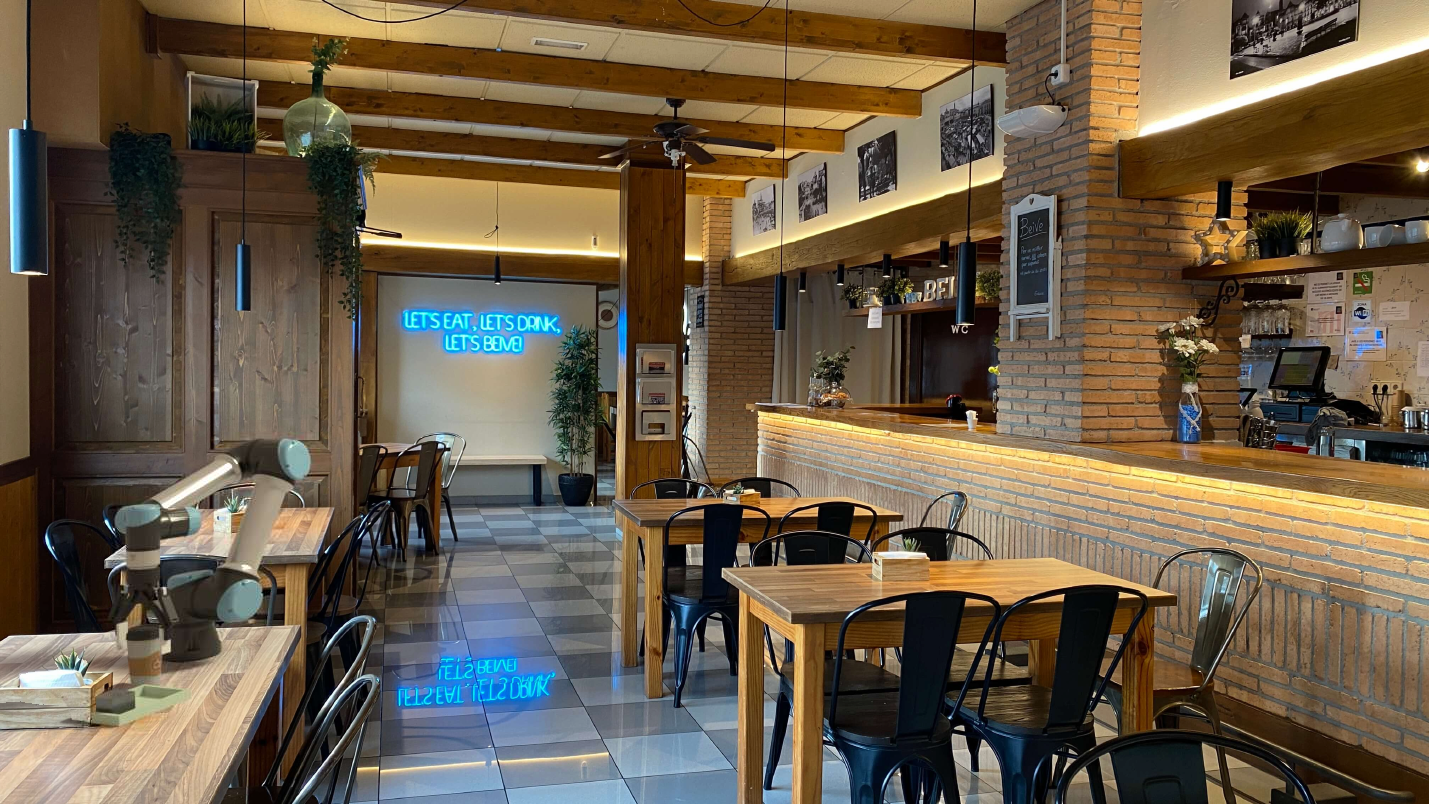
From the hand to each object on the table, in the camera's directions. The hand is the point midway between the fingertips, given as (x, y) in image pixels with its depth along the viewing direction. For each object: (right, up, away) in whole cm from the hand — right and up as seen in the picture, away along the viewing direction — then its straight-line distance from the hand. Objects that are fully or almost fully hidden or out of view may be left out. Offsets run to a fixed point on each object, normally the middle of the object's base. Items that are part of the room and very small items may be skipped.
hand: (143, 651), depth 255 cm
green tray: (+8, -10, -18) cm, 22 cm away
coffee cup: (0, -9, +1) cm, 9 cm away
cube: (+6, -9, -23) cm, 26 cm away
